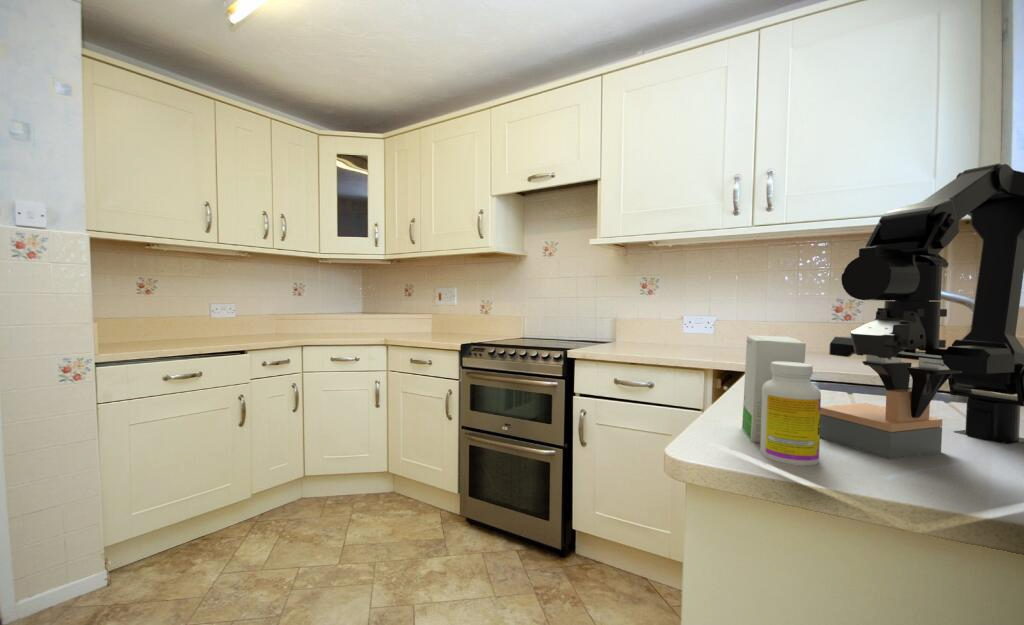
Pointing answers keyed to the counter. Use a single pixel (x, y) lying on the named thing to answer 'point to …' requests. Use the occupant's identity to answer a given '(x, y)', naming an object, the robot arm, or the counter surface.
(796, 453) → the supplement bottle
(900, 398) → the lid
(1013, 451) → the counter surface
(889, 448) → the tub
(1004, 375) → the robot arm
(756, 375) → the skincare box
